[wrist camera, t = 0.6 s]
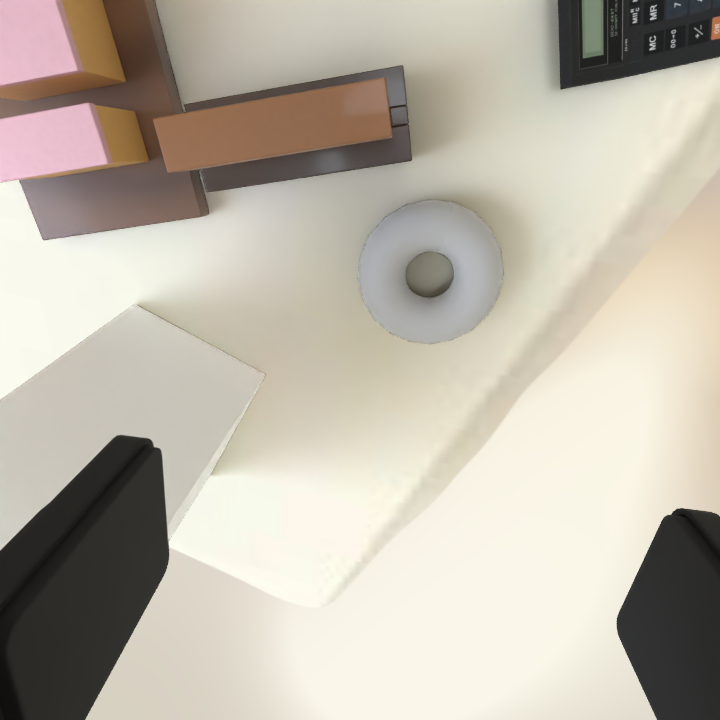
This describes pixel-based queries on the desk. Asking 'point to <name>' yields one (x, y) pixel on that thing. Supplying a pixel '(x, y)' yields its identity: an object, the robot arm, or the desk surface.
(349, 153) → the cutter stand
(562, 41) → the calculator
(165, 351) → the milk
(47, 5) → the loaf cake
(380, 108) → the bar
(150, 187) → the cutting board
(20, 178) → the cake slice
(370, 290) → the donut
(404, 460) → the desk surface
